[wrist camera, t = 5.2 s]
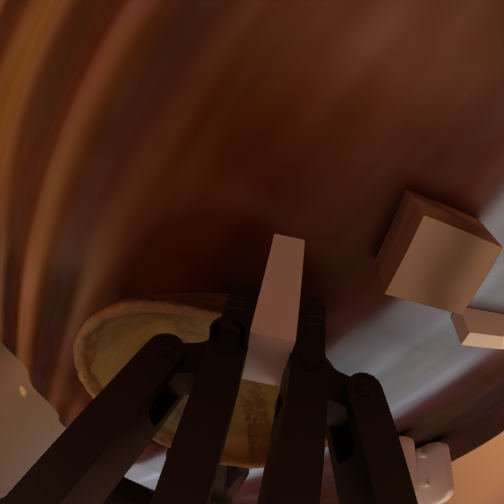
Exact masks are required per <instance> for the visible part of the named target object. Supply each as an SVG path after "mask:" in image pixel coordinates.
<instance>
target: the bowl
mask: <svg viewBox="0 0 504 504" xmlns="http://www.w3.org/2000/svg"><path fill="white" fill-rule="evenodd" d="M228 297H229V294H224V293H207V292H175V293H164V294H147V295H140V296H134V297H129V298H123V299H121V300H119V301H116V302H114V303H112V304H110V305H108V306H105V307H103V308H101V309H99V310H98V311H96V312H95V313H93V314H92V315H90V316H89V317H88V318H87V319H86V320H85V321H84V322H83V323H82V325H81V326H80V328H79V330H78V331H77V333H76V336H75V339H74V342H73V354H74V363H75V368H76V369H77V370H78V376H79V379H80V381H81V382H82V383H83V385H84V386H85V388H86V390H87V392H88V393H89V394H90V395H91V396H92V398H93V399H94V398H95V397H96V396H97V395H98V394H99V393H100V392H101V391H102V390H103V389H104V388H105V386H106V385H107V384H108V383H109V382H110V381H111V380H112V379H113V378H114V377H115V376H116V375H117V374H118V372H119V371H120V370H121V369H122V368H123V367H124V366H125V365H126V364H127V363H128V362H129V361H130V360H131V359H132V357H133V356H134V355H135V354H136V353H137V352H138V351H139V350H140V349H141V348H142V347H143V346H144V345H145V344H146V343H147V342H148V340H149V339H151V338H152V337H153V336H155V335H158V334H161V333H170V334H173V335H176V336H178V337H179V338H180V339H182V341H183V343H199V342H203V341H206V340H208V339H209V329H210V325H211V323H212V322H213V321H214V320H215V319H217V318H219V317H221V316H222V313H223V310H224V307H225V305H226V302H227V300H228ZM326 359H327V358H326ZM327 361H328V363H329V364H330V366H332V364H331V363H330V361H329V360H328V359H327ZM332 367H333V366H332ZM333 368H334V367H333ZM280 385H281V383H280ZM279 391H280V386H275V385H270V384H265V383H260V382H255V381H250V380H246V379H241V383H240V388H239V392H238V396H237V400H236V404H235V408H234V412H233V416H232V420H231V424H230V428H229V432H228V435H227V439H226V443H225V447H224V451H223V455H222V458H221V462H220V464H221V465H228V466H237V467H243V468H264V467H265V462H266V457H267V451H268V446H269V440H270V435H271V429H272V424H273V418H274V412H275V408H273V407H274V404H275V402H276V399H277V397H278V394H279ZM188 397H189V395H185V396H184V397H183V399H182V400H181V401H180V403H179V404H178V405H177V407H176V408H175V409H174V411H173V412H172V413H171V415H170V416H169V417H168V419H167V420H166V421H165V423H164V424H163V425H162V427H161V428H160V429H159V431H158V432H157V433H156V435H155V436H154V437H153V439H152V440H153V441H155V442H157V443H159V444H161V445H164V446H166V447H168V448H170V447H171V444H172V441H173V438H174V436H175V433H176V430H177V427H178V425H179V422H180V419H181V416H182V414H183V411H184V408H185V405H186V403H187V400H188ZM327 446H328V443H327V438H325V447H327Z"/></svg>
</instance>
